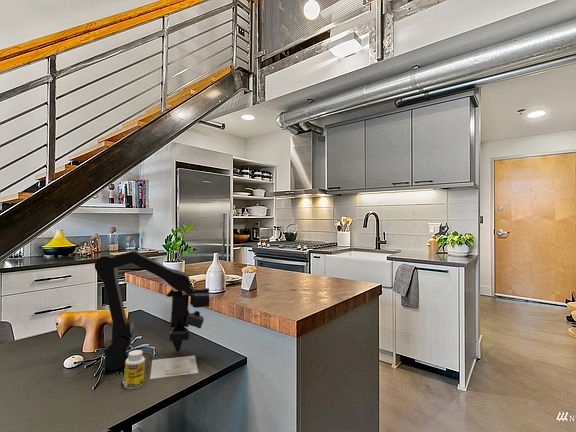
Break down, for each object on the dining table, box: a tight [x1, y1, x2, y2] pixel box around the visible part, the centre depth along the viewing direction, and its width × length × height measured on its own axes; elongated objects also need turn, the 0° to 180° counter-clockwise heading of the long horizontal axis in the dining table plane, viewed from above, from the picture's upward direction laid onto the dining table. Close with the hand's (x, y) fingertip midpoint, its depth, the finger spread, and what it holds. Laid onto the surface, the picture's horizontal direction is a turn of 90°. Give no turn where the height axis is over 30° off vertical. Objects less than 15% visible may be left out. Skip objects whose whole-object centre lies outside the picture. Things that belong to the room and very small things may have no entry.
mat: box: [149, 355, 199, 380], centre depth 110 cm, size 15×14×1 cm
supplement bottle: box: [123, 349, 146, 390], centre depth 98 cm, size 6×6×10 cm
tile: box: [165, 357, 190, 375], centre depth 109 cm, size 8×2×8 cm
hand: (177, 351), depth 113 cm, fingers closed
